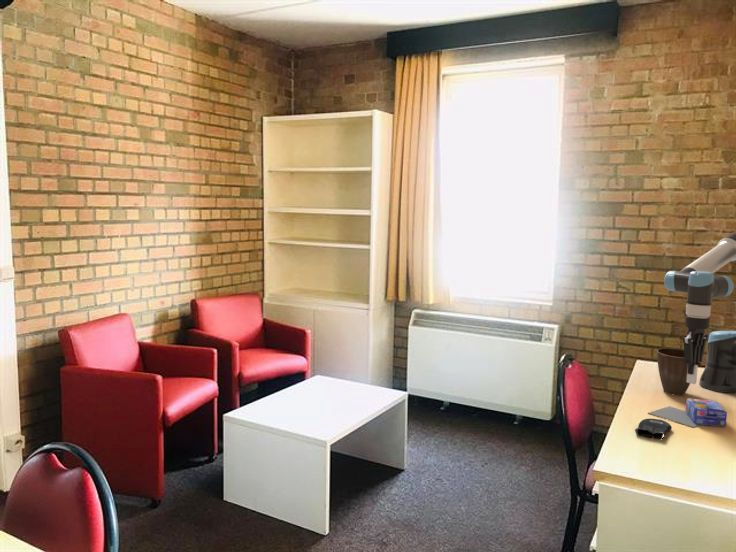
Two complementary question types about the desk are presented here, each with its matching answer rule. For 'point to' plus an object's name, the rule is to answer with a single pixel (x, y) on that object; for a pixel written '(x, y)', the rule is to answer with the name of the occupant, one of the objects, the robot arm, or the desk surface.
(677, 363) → the plant pot
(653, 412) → the mat
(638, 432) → the electronic device
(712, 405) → the ink cartridge box
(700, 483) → the desk surface
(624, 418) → the desk surface
